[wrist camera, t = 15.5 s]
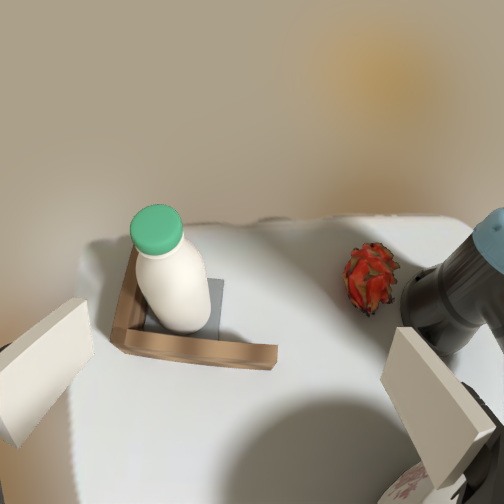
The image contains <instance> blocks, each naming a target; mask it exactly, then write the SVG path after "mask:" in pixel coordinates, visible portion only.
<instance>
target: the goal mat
mask: <svg viewBox="0 0 504 504" xmlns="http://www.w3.org/2000/svg"><path fill="white" fill-rule="evenodd" d="M207 281H208V288H209V295H210V302H211V313H210V317H209V319H208V321H207V322H206V324H205V325H204V326H203V327H202V328H201V329H200V330H198V331H196V332H194V333H191V334H187V335H179V334H175V333H172V332H170V331H168V330H167V329H166V328H164V327H163V326H162V324H161V323H160V322H159V320H158V319H157V317H156V315H155V314H154V312H153V311H152V309H151V307H150V306H148V311H147V316H146V321H145V327H144V332H150V333H157V334H165V335H172V336H180V337H188V338H197V339H207V340H217V341H218V334H219V324H220V315H221V305H222V296H223V287H224V280H220V279H209V278H207Z"/></svg>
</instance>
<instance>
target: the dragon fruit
mask: <svg viewBox="0 0 504 504" xmlns="http://www.w3.org/2000/svg"><path fill="white" fill-rule="evenodd" d="M351 256H352V257H351V260H350V261H349V263H348V264H347V266H346V267H345V269H344V273H343V279H344V281H345V285H346V290H347V292H348V297H349V299H351V301H352V303H353V306H355V307H356V306H357V307H358V309H359V310H360V311H362V312H363V313H366V315H367V316H368V317H370V314H369V313H372V314H375V313H374V312H375V311H376V309H377V308H378V305H379V301H381V302H382V303H387V304H390V303H393V302H394V301H395V298H393V299H392V296H391V292H392V289H391V287H390V284H397V280H396V279H395V278H394V274H393V270H396V269H398V268H400V265H399V263H397V262H394V261H392V259H393V256H394V255H393V254H392V253H391V251H390V250H389V249H387V248H386V247H384V246H383V245H382V243H370V244H368V243H365V244H363V249H361V250H359V249H358V248H354V249H353V251H352V252H351ZM388 295H389V296H388ZM389 297H390V298H389Z"/></svg>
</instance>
